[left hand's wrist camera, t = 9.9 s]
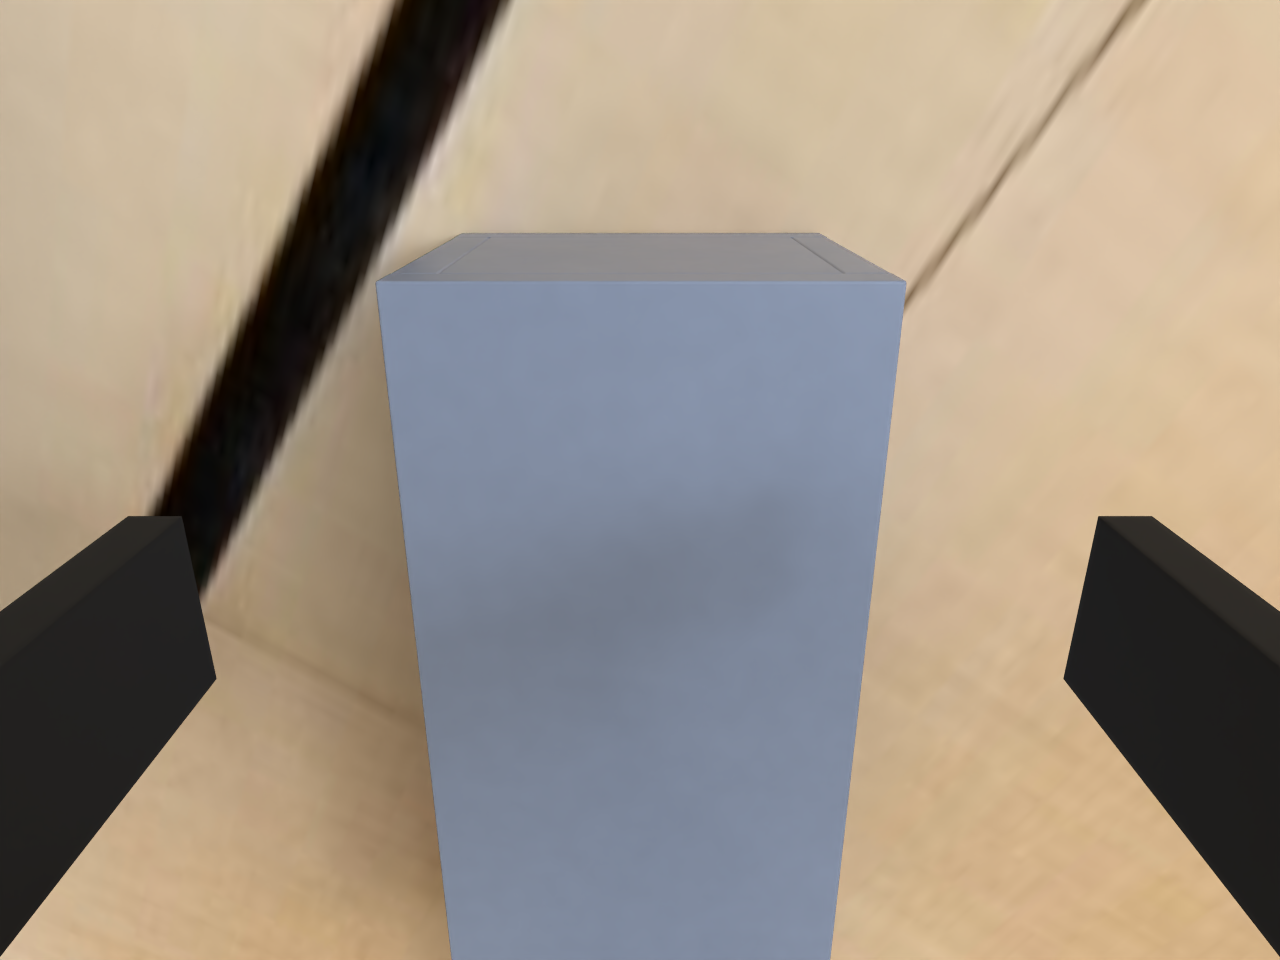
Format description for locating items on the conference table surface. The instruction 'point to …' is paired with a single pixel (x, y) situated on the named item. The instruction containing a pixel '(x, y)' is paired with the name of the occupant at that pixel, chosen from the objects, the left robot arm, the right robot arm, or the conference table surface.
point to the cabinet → (640, 579)
